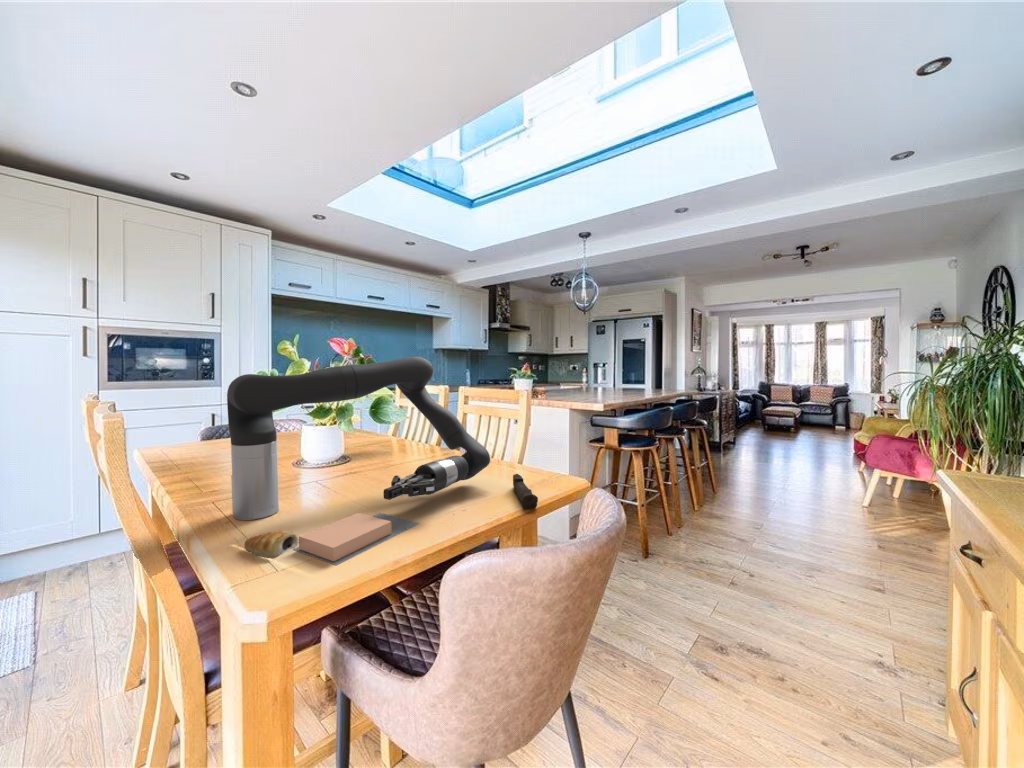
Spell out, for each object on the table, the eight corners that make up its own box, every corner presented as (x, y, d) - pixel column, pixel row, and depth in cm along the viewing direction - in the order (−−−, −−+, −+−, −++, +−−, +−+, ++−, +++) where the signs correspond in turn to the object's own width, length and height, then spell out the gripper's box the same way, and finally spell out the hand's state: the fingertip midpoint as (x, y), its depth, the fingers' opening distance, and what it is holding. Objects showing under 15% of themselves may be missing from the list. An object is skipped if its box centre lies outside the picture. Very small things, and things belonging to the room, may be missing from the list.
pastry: (234, 556, 78) (233, 536, 78) (262, 541, 85) (261, 523, 84) (277, 561, 76) (277, 540, 76) (302, 545, 83) (302, 526, 83)
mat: (292, 551, 79) (292, 549, 79) (380, 514, 99) (380, 512, 99) (336, 567, 73) (336, 565, 73) (420, 524, 93) (420, 523, 93)
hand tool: (538, 510, 103) (538, 492, 102) (522, 511, 102) (522, 492, 102) (524, 487, 121) (524, 471, 121) (510, 488, 121) (511, 472, 121)
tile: (358, 524, 91) (298, 550, 79) (358, 512, 91) (298, 536, 79) (391, 534, 87) (333, 562, 74) (391, 521, 86) (333, 547, 74)
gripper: (416, 458, 110) (364, 474, 94) (457, 464, 103) (408, 482, 88) (417, 486, 110) (365, 506, 95) (457, 494, 104) (408, 517, 89)
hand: (386, 494), depth 92 cm, fingers closed
